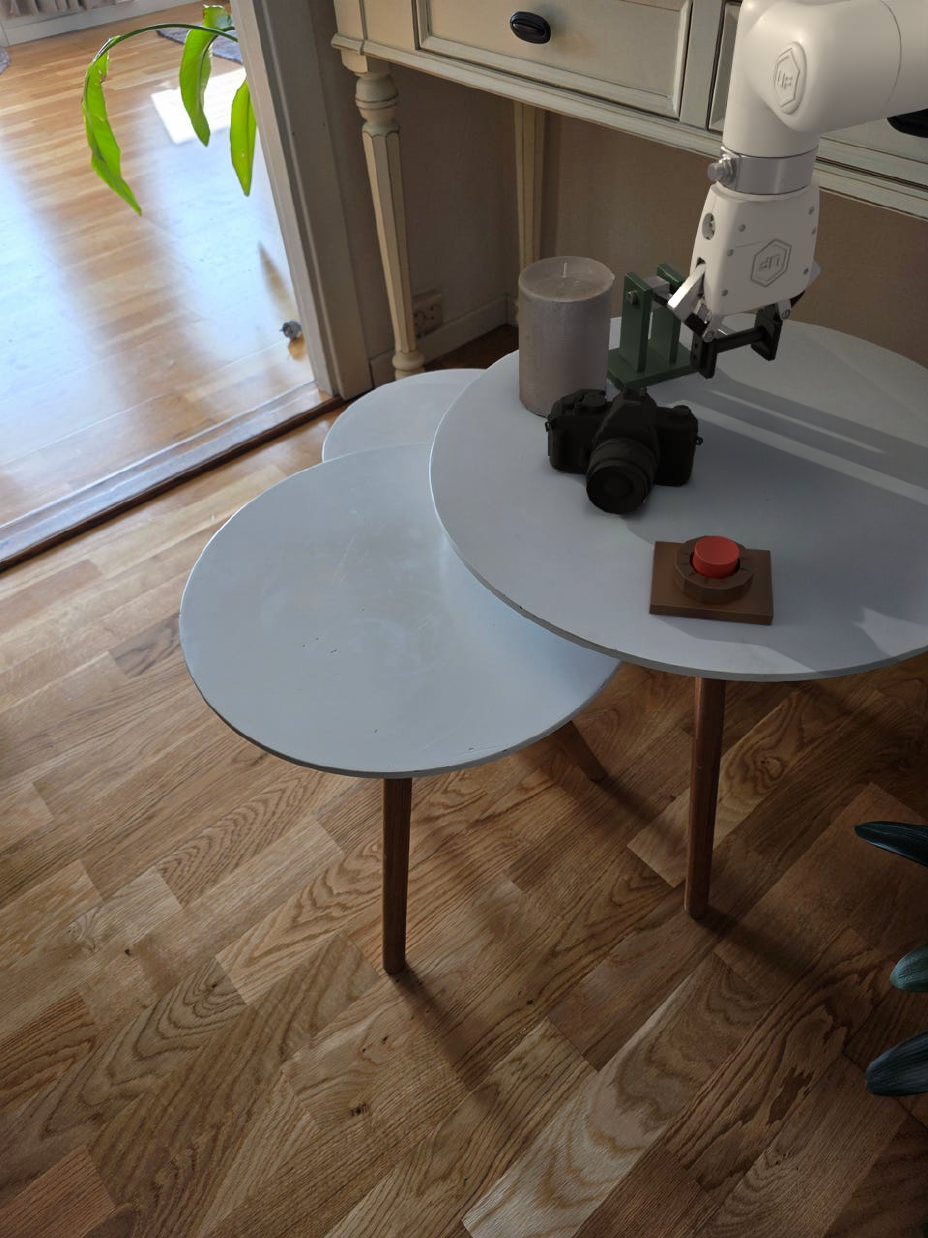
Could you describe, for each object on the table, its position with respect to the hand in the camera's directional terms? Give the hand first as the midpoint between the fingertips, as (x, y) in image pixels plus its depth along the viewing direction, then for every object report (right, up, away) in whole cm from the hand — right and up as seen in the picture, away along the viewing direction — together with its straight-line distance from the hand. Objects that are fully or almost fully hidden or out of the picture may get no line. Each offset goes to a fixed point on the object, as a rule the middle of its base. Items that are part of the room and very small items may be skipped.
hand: (732, 361), depth 84 cm
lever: (-3, +5, +5) cm, 8 cm away
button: (-5, -20, -10) cm, 23 cm away
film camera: (-11, -12, +2) cm, 16 cm away
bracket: (-5, +4, +16) cm, 17 cm away
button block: (-5, -22, -8) cm, 24 cm away
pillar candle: (-15, 0, +13) cm, 20 cm away
